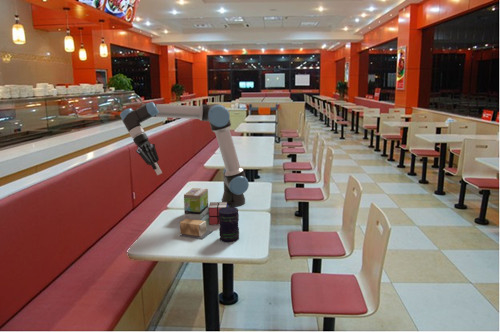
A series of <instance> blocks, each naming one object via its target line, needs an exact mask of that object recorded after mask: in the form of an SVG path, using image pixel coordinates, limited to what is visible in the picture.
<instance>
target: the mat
mask: <svg viewBox="0 0 500 332" xmlns="http://www.w3.org/2000/svg"><path fill="white" fill-rule="evenodd" d="M206 230H207V232H206V233H205V234H203V235H202V236H195V235H188V234H181V233H180V234H179V237H183V238H190V239H196V240H203V239H205V238H206V237H208V236H209V235H211V233H212V232H213V230H210V229H209V230H208V229H206Z"/></svg>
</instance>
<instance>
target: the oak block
mask: <svg viewBox="0 0 500 332" xmlns="http://www.w3.org/2000/svg"><path fill="white" fill-rule="evenodd" d="M207 230H208V229H207V220H202V219H201V220H193V219H185V218H184V219H183V220H182V221H180V222H179V231H180V235H181V234H188V235H195V236H202V235H203V234H205V233H206V232H207Z"/></svg>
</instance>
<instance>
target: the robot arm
mask: <svg viewBox="0 0 500 332" xmlns="http://www.w3.org/2000/svg"><path fill="white" fill-rule="evenodd" d="M119 116H120V118H121V121H122V122H123V125H124V127H125V128H126V130H127V132H128V134H129V135H130V137H131V139H132V140H133V142H134V145H136V146H137V149H136V150H135V152H136V153H137V154H138V155H139V156H140V157H141V158H142V160H143V161H144V162H145V164H146V165H148V166H151V168H152V169H153V170H154V172H155V173H156V176H159V175H161V174H163V171H162V169H161V167H160V165H159V163H158V162H159V160H160V159H159V156H158V155H159V154H158V151H157V150H156V144H155V143H153V144H152V143H151V142H150V141H149V137H148V135H147V134H146V132H145V130H144V128H143V126H142V124H141V123H144V122H145V121H147V120H149V119H151V118H167V119H168V118H170V119H171V118H172V119H193V120H196V119H197V120H200V121H202V122H209V126H210V130H211V132H212V133H213V132H214V133H215V137H216V140H217V144H218V147H219V150H220V154H221V157H222V162H223V163H224V169H223V171H222V175H223V178H222V179H223V194H222V198H221V202H228V207H239V206H242V205H245V204H246V197H245V195H244V194H245V193H246V192H247V191H248V190H249V187H250V186H249V185H250V184H249V180H248V178H247V177H246V174H245V170H244V168H242V167H241V165H240V162H239V159H238V155H237V151H236V147H235V143H234V139H233V137H232V133H231V129H230V128H231V127H232V123H231V116H230V112H229V109H228V108H226V107H225V106H224V105H221V104H219V103H212V104H211V103H210V104H200V105H183V104H182V105H181V104H180V105H179V104H164V103H163V104H160V103H154V101H151V102H144V103H143V104H141V105H140V107H138V108H137V109H135V110H134V109H133V108H127V109H124V110H122V111H121V112H120V114H119Z"/></svg>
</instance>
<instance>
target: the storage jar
mask: <svg viewBox="0 0 500 332" xmlns="http://www.w3.org/2000/svg"><path fill="white" fill-rule="evenodd" d="M239 217H240V216H239V208H237V207H235V206H228V207H225V208H221V209H219V222H220V225H219V235H218V236H219V240H220V241H221V242H222V243H228V244H229V243H235V242H237V241H239V240H240V227H239V220H240V218H239Z"/></svg>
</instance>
